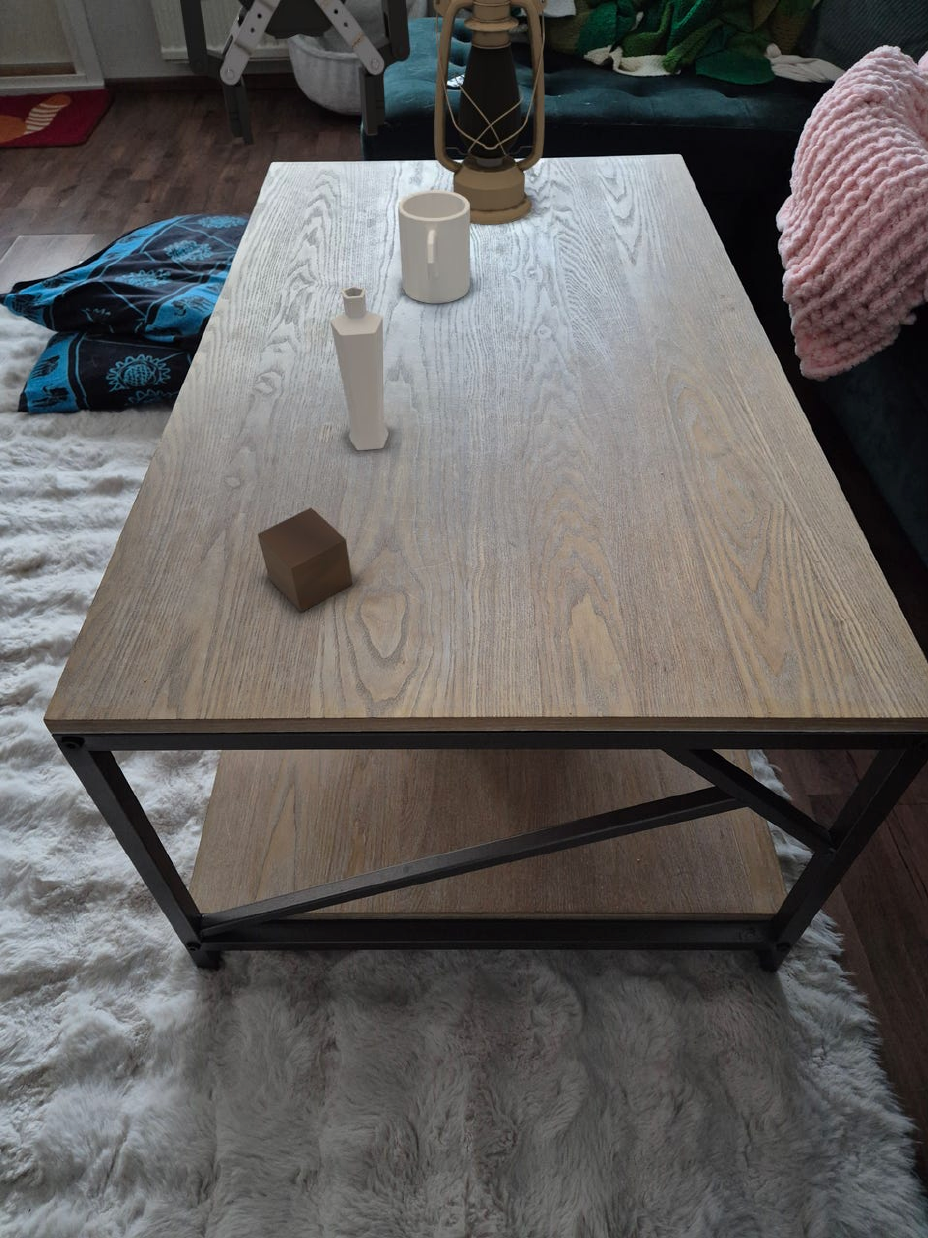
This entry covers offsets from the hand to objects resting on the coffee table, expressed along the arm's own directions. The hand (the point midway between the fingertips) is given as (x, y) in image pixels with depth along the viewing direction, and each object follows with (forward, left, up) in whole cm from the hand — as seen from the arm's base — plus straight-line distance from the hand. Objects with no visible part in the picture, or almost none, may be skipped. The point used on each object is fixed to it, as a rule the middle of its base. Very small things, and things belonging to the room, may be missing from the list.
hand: (309, 137), depth 59 cm
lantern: (+28, +52, -29) cm, 66 cm away
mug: (+15, +29, -28) cm, 44 cm away
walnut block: (-6, -15, -28) cm, 32 cm away
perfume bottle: (+2, +3, -29) cm, 29 cm away
